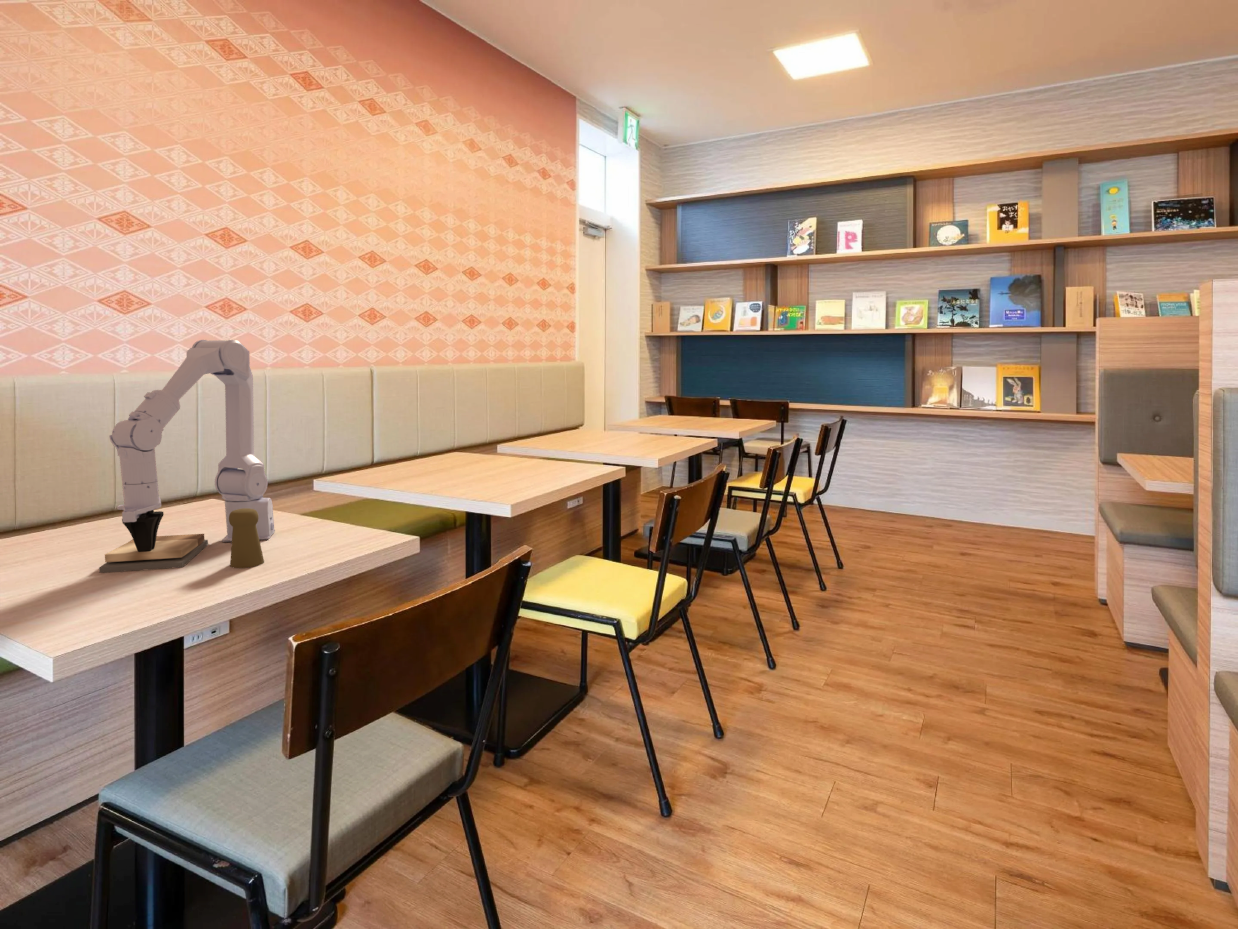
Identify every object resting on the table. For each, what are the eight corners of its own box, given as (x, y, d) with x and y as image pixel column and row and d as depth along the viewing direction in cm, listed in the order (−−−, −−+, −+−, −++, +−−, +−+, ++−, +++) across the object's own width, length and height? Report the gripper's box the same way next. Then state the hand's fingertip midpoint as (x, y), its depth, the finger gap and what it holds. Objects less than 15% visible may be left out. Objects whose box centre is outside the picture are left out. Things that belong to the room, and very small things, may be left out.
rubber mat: (208, 544, 158) (207, 539, 157) (182, 567, 140) (182, 562, 140) (134, 548, 154) (134, 543, 154) (99, 572, 137) (98, 567, 137)
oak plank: (198, 545, 152) (197, 538, 152) (181, 557, 142) (181, 549, 141) (127, 550, 149) (126, 542, 149) (105, 562, 138) (104, 554, 138)
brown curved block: (204, 540, 157) (204, 533, 157) (198, 545, 153) (198, 538, 152) (136, 544, 153) (135, 537, 153) (128, 549, 149) (127, 542, 149)
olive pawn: (240, 559, 146) (236, 505, 144) (270, 559, 146) (266, 506, 144) (223, 567, 140) (219, 512, 138) (254, 568, 140) (250, 512, 138)
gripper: (130, 477, 145) (136, 542, 147) (100, 489, 131) (107, 562, 133) (170, 475, 147) (175, 540, 149) (144, 487, 133) (151, 559, 135)
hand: (146, 550), depth 141 cm, fingers closed on oak plank
